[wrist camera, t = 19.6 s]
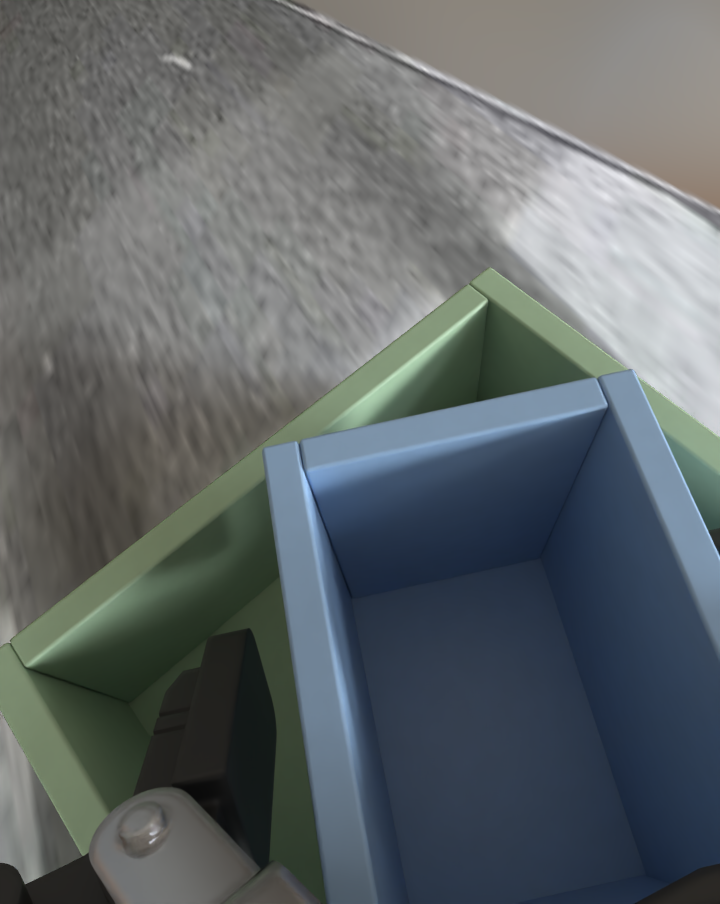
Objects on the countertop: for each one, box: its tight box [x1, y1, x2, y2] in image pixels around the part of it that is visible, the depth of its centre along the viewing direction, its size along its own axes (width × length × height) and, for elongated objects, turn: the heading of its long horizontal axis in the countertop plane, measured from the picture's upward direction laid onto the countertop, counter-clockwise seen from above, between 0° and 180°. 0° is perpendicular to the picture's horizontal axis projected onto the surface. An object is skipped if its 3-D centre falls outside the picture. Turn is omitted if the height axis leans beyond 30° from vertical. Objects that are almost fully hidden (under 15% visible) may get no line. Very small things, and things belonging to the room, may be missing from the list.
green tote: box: [0, 267, 720, 904], centre depth 14 cm, size 13×13×6 cm
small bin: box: [262, 369, 720, 904], centre depth 12 cm, size 6×8×8 cm
